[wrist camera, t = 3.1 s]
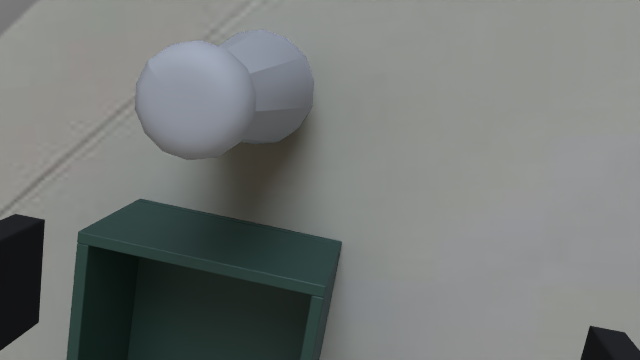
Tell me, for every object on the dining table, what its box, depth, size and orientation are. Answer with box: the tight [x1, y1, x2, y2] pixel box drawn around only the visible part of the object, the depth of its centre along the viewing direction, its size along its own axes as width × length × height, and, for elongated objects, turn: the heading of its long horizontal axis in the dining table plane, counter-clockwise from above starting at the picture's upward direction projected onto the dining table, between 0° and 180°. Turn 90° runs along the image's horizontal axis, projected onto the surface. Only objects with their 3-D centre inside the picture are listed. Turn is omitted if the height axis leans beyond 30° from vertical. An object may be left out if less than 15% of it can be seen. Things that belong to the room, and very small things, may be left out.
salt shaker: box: [135, 29, 314, 160], centre depth 27 cm, size 6×6×13 cm
